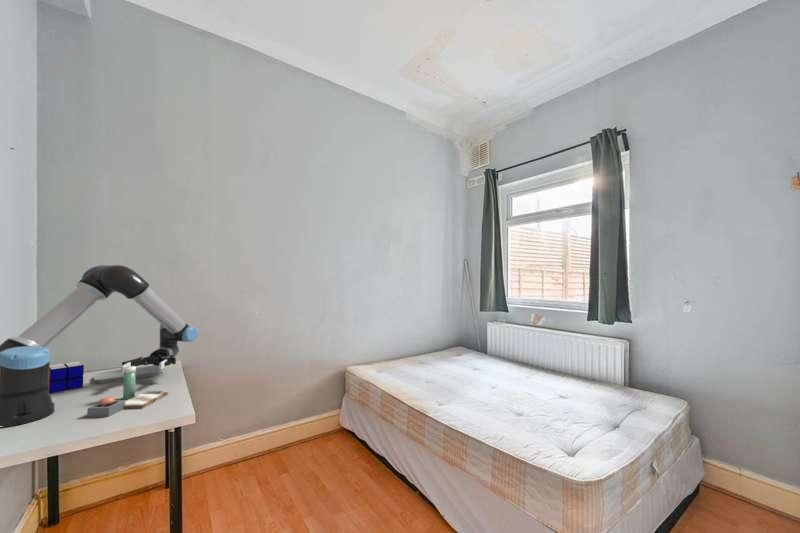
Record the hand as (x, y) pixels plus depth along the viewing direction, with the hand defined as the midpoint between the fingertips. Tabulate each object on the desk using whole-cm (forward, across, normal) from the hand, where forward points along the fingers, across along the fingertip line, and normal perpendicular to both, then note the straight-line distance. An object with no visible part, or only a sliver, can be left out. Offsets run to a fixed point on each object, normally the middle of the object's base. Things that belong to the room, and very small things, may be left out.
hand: (141, 367), depth 136 cm
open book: (+16, -6, -9) cm, 20 cm away
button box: (+24, +1, -9) cm, 26 cm away
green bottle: (+10, 0, -9) cm, 14 cm away
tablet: (-27, +14, -10) cm, 32 cm away
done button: (+24, +1, -6) cm, 25 cm away
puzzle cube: (-13, +32, -10) cm, 36 cm away
